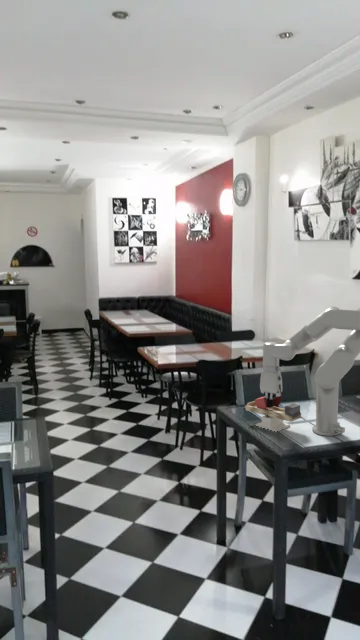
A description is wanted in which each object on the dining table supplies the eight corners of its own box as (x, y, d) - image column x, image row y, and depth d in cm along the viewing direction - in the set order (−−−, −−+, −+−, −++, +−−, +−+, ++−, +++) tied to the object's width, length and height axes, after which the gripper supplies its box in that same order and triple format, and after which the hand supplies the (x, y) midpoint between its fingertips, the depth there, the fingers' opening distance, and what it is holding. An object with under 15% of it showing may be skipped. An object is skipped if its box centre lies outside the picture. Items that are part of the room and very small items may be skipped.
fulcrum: (289, 426, 242) (290, 415, 241) (276, 432, 234) (276, 420, 234) (269, 420, 251) (269, 410, 250) (255, 426, 243) (255, 415, 242)
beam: (301, 418, 236) (302, 404, 235) (290, 423, 229) (290, 408, 229) (256, 407, 254) (256, 394, 253) (244, 411, 248) (244, 398, 247)
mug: (278, 410, 267) (278, 391, 266) (263, 408, 270) (263, 390, 269) (283, 405, 276) (283, 386, 275) (269, 403, 280) (269, 385, 278)
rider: (271, 405, 245) (268, 395, 245) (266, 408, 241) (263, 398, 242) (263, 407, 248) (260, 397, 249) (257, 409, 244) (254, 399, 245)
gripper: (289, 369, 237) (288, 408, 239) (262, 365, 248) (262, 401, 250) (279, 372, 232) (279, 411, 234) (253, 367, 242) (252, 405, 245)
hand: (270, 406), depth 242 cm, fingers closed
